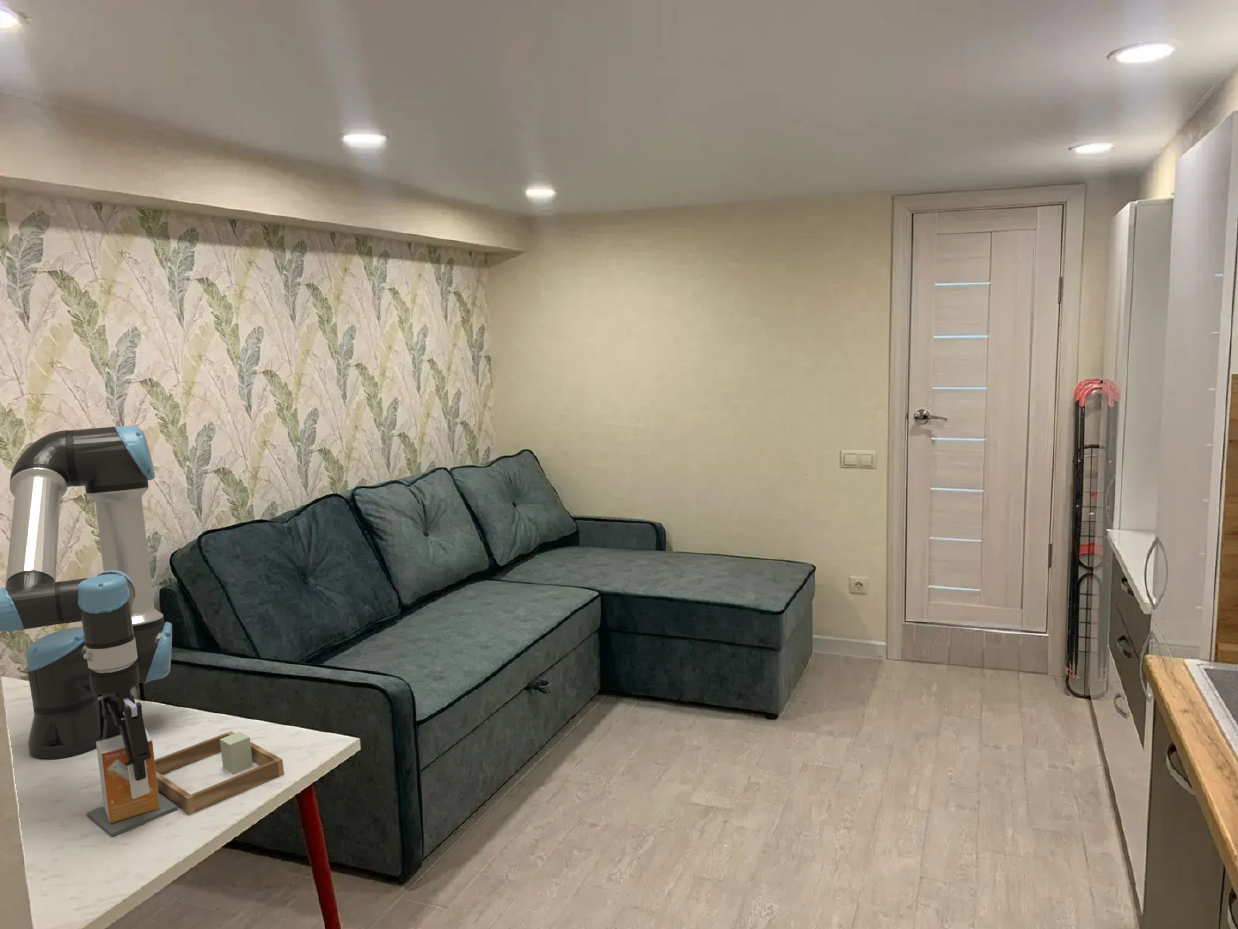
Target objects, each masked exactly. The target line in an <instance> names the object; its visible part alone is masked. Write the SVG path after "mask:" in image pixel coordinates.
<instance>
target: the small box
mask: <svg viewBox="0 0 1238 929" xmlns="http://www.w3.org/2000/svg"><path fill="white" fill-rule="evenodd" d="M145 731H146V736H147V740H148V745H149V750H150V754H151V758H149V759H147V760H145V761H146V769H147V776H148V784H149V792H150V793H148V794H145V795H143V796H140V797H138V798H135V799H132V797H131V790H130V782H129V775H128V767H127V766H126V765H125V763H126V762H128V761H129V758H128V755H127V752H126V748H125V745H124V742H123V739H122V735H119V736H116V737H112V738H109V739H105V740H101V741H97V742H96V753H97V760H98V769H99V777H100V779H99V780H100V785H101V793H102V801H103V806H104V808H105V812H106V814H107V817H108V820H109V822H110V823H113V822H116V821H119V820H123V819H126V818H129V817H132V816H136V815H139V814H142V813H146V812H149V811H153V810H157V809H159V808H160V804H159V795H158V786H157V777H156V769H155V760H156V759H155V752H154V745H153V740H152V737H151V736H150V734H149V732H148V730H147V728H145Z"/></svg>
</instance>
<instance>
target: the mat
mask: <svg viewBox="0 0 1238 929" xmlns="http://www.w3.org/2000/svg"><path fill="white" fill-rule="evenodd" d="M158 795H159V804H160V808H159V809H157V810H153V811H149V812H146V813H142V814H139V815H136V816H132V817H129V818H126V819H123V820H119V821H116V822H113V823H110V822H109V820H108V817H107V814H106V812H105V808H104V805H103V806H100V807H98V808H95V809H93V810H89V811H88V812H86V817H88V818H89V819H90V820H91V821H93V822H94V824H96V825H97V826H98V827H99V828H101V829H102V830H103V831H104V832H106V833H107V834H108V835H109V836H110V837H112V838H113V837H115V836H116V837H117V836H118V835H121V834H123V833H125V832H128V831H131V830H132V829H135V828H137V827H139V826H142V825H144V824H147V823H149V822H152V821H155V820H157V819H158V818H161V817H163V816H166V815H168V814H170V813H173V812H176V811H178V810H179V809H178V808H179V807H178V806H177V805H175V804H174V803H172V802H171V801H170V800H168V799H167V798H165V797H164V796H163V795H161V794H160V793H158Z"/></svg>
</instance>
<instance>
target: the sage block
mask: <svg viewBox="0 0 1238 929" xmlns="http://www.w3.org/2000/svg"><path fill="white" fill-rule="evenodd" d="M234 733H235V734H232V735H229V736H227V737H224V738H222V739H220V746H221V752H220V755H221V761H222V769H224V770H225V771H227V772H229V773H230V774H232V775H235V774H237V773H240V772H242V771H244V770H246V769H249V768H251V767H254V763H253V762H254V761H252V753H251V744H250V742H251V737H250V736H249V735H247V734H244V732H243V733H242V732H241V731H238V732H234Z"/></svg>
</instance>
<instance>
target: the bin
mask: <svg viewBox="0 0 1238 929" xmlns="http://www.w3.org/2000/svg"><path fill="white" fill-rule="evenodd" d="M235 733H236V732H233V731H231V730H230V731H228V732H226V733H223V734H220V735H217V736H214V737H211V738H209V739H206V740H203V741H202V742H201V741H200V742H199V743H196V744H193V745H190V746H189V747H188V746H187V747H185V748H182V749H180V750H178V751H174V752H172V753H170V754H167V755H164V756H161V757H159V758H156V759H154V760H155V769H156V777H157V786H158V793H159V794H161V795H162V796H164V797H165V798H166V799H168V800H169V801H171V802H172V803H173V804H175V805H176V806H177V807H178V808H179V809H181V810H182V811H184V812H185V813H187V814H188V815H192V814H195V813H196V812H200V811H201V810H203V809H206V808H208V807H209V808H210V807H211V806H213V805H216V804H217V803H220V802H222V801H224V800H227V799H229V798H232V797H234V796H236V795H239V794H241V793H243V792H245V791H248V790H250V789H253V788H254V787H257V786H260V785H262V784H264V783H267V782H269V781H271V780H274V779H275V778H278V777H280V776H283V775H284V774H285V772H284V769H285V768H284V762H283V759H282V758H281V757H280V756H278V755H275V754H273V753H272V752H270V751H269V750H267V749H265V748H263V747H261V746H259V745H257V744H256V743H253V742H251V741H250V744H251V753H252V762H254V763H255V764H257V765H259V766H257V767H255V768H252V769H250V770H248V771H245V772H242V773H240V774H237V775H235V776H233V777H231V778H228V779H225V780H223V781H220V782H218V783H216V784H213V785H211V786H208V787H206V788H203V789H201V790H199V791H197V792H194V793H192V794H191V793H189V792H188V791H186V790H185V789H183V788H182V787H180V786H179V785H177V784H176V783H174V782H173V781H172V780H170V779H168V778H167V777H166V776H164V775H165V774H167V773H170V772H173V771H175V770H177V769H180V768H183V767H186V766H188V765H191V764H194V763H196V762H199V761H200V760H203V759H206V758H208V757H211V756H214V755H216V754H219V753H221V746H220V739H222V738H224V737H227V736H229V735H232V734H235Z"/></svg>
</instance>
